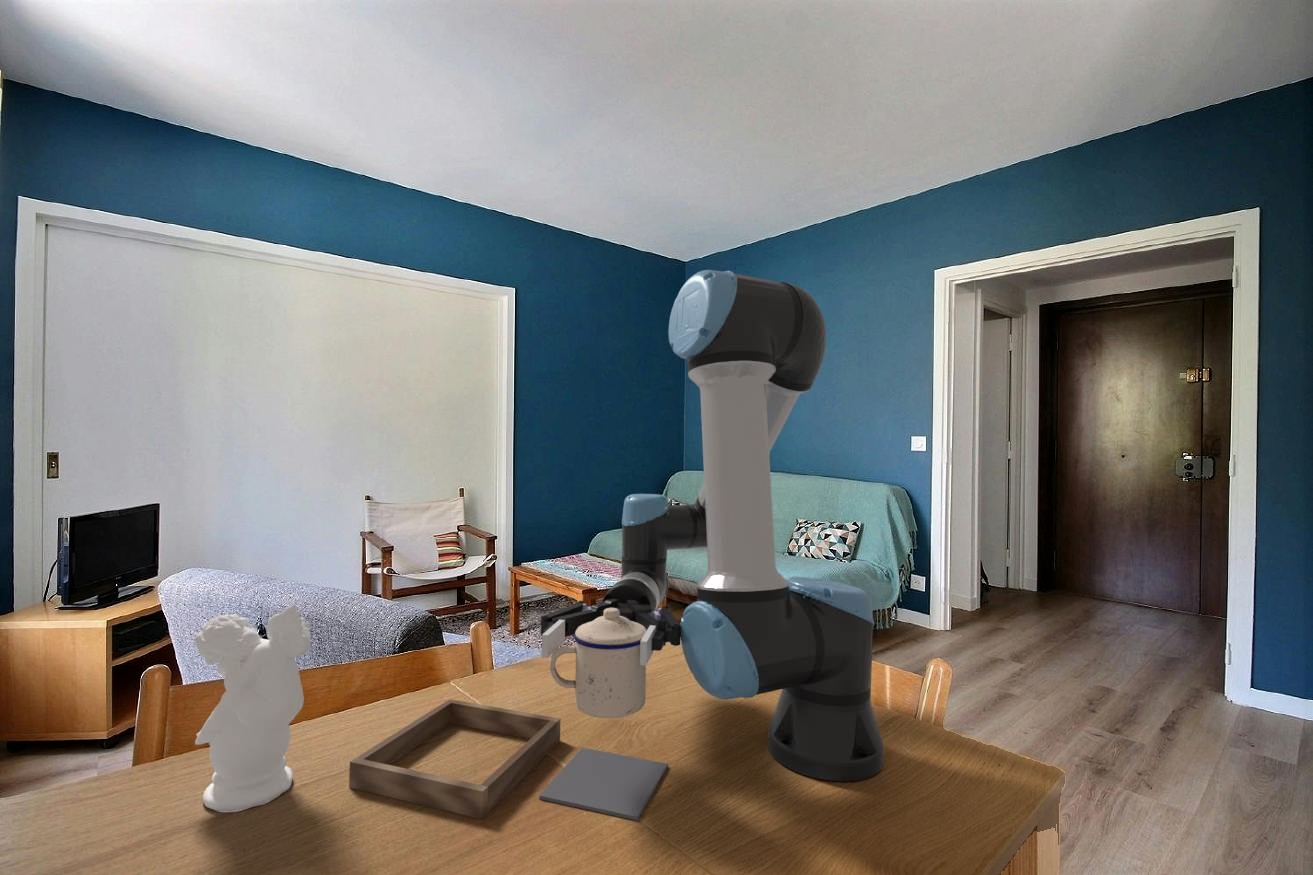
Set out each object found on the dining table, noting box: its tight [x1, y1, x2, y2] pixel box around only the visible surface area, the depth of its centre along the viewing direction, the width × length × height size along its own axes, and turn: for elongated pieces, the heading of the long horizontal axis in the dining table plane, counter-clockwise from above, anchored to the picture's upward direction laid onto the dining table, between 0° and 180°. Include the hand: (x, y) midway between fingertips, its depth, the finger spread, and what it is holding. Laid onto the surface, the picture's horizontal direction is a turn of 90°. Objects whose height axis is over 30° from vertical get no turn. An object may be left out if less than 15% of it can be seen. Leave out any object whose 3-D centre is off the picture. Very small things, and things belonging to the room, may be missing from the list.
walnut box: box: [348, 698, 561, 820], centre depth 79 cm, size 18×19×3 cm
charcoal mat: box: [538, 747, 669, 821], centre depth 75 cm, size 12×12×1 cm
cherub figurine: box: [194, 603, 312, 813], centre depth 73 cm, size 12×12×22 cm
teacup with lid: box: [549, 608, 647, 719], centre depth 76 cm, size 12×9×12 cm
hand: (593, 649), depth 72 cm, fingers closed on teacup with lid, 11 cm apart
